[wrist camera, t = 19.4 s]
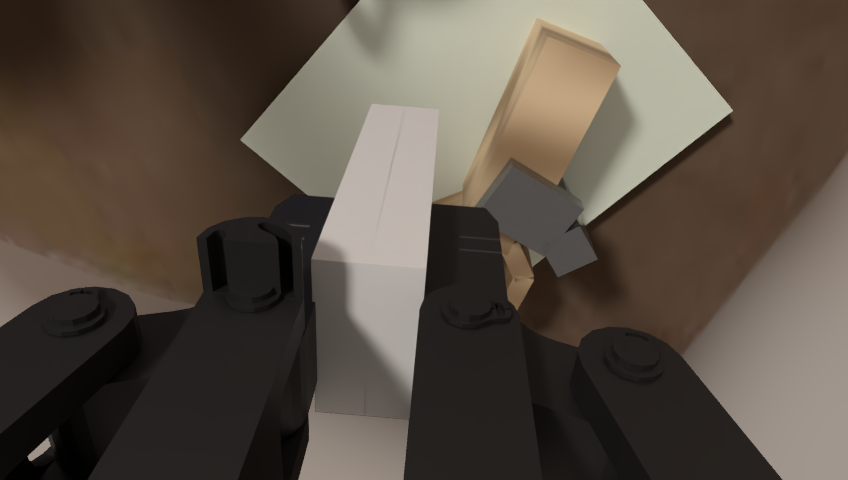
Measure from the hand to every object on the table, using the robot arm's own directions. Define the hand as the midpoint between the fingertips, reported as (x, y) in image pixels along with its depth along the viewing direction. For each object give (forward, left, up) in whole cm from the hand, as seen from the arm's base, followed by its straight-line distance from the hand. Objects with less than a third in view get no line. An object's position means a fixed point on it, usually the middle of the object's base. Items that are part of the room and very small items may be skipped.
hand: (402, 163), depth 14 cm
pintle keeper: (+12, -6, -24) cm, 28 cm away
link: (+10, -4, -23) cm, 26 cm away
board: (+7, -3, -24) cm, 26 cm away
